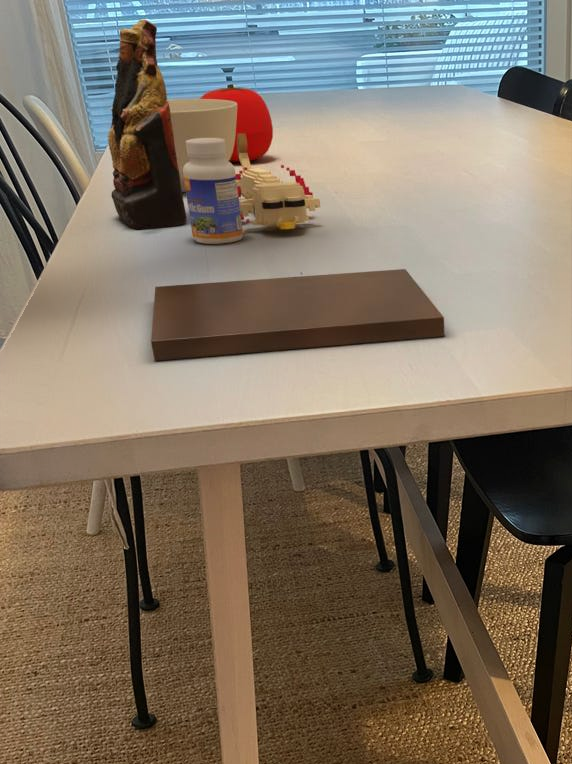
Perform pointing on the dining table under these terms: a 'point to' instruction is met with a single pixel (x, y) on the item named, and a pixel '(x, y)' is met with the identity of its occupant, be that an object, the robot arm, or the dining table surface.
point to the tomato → (248, 119)
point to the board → (290, 314)
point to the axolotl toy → (271, 194)
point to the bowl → (201, 125)
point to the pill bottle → (212, 192)
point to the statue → (143, 137)
